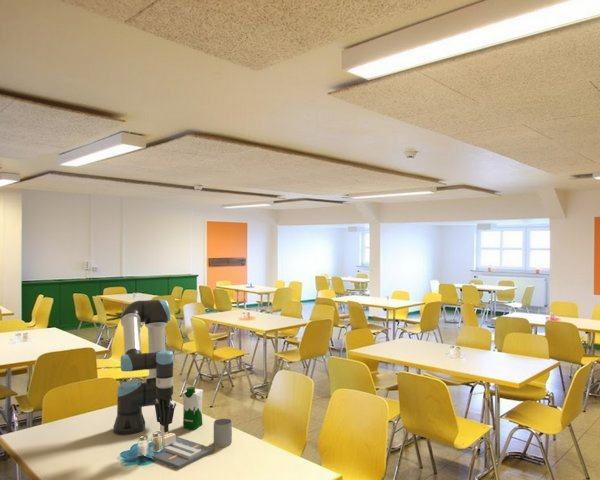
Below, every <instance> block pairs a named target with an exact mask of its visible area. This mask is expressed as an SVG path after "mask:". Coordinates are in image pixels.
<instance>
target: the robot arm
mask: <svg viewBox="0 0 600 480" xmlns="http://www.w3.org/2000/svg"><path fill="white" fill-rule="evenodd" d="M170 321H171V310H170V306H169V303H168V301H167V300H166V299H149V300H146V299H145V300H135V301H133V302H131V303H129V304H128V305H127V306H126V307H125V308H124V310H123V312H121V315H120V324H121V326H122V328H123V329H122V330H123V345H124V346H123V348H124V354H122V355H121V356H120V370H121V372H135V371H145V370H146V371H147V370H148V375H147V377H146V378H145V382H143V380H141V379H132V380H127V381H124V382H122V383H121V384H119V385H118V386H117V392H116V393H117V394H116V397H117V401H116V402H117V403H116V405H117V407H116V409H117V410H116V418H115V421H114V424H113V428H112V432H113V433H114V434H117V435H123V436H125V435H133V434H138V433H139V432H142V431H144V430H145V429H146V420H145V418H144V415H143V407H149V406H150V407H151V406H154V409H155V410H154V411H155V417H156V422H157V423H159V427H160V429H159V430H160V437H161V436H165V435H167V434H169V429H170V428H169V427H170V426H169V425H170V424H172V423H173V421H174V420H173V419H174V413H175V409H176V406H177V403H176V402H173V394H174V359H175V358H174V352H173V351H171V350H166V327H167V325H168V323H169V322H170ZM141 323H144V326H145V328H147V339H148V340H147V341H148V342H147V343H148V344H147V345H148V352H145V353H142V346H141V345H142V344H141V333H140V324H141Z"/></svg>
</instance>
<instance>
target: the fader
mask: <svg viewBox="0 0 600 480" xmlns="http://www.w3.org/2000/svg"><path fill="white" fill-rule="evenodd" d="M176 437H177V436H176V433H174V432H168V434H167V435H165V436H162V437H161V436H160V439H161V438H162V444H163V446H171V444H172V443H174V442H176Z"/></svg>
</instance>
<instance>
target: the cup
mask: <svg viewBox="0 0 600 480" xmlns="http://www.w3.org/2000/svg"><path fill="white" fill-rule="evenodd" d="M232 440H233V420H232V419H230V418H218V419H215V420H214V421H213V446H214V447H217V448H226V446H227V447H229V446H231V445H232V444H233V441H232ZM231 443H232V444H231Z"/></svg>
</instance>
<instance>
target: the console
mask: <svg viewBox="0 0 600 480" xmlns="http://www.w3.org/2000/svg"><path fill="white" fill-rule="evenodd" d="M163 448H164V449H165V450H166V451H165V452H163V453H159V454H158V453H157V454H154V455H153V456H152V457H153V459H154V460H153V461H155V462H157V463H161V464H163V465H166V466H168V467H171V468H174V469H177V470H181V469H184V468H185V467H186V466H189V465H190V464H193V463H194V462H197V461H199V460H200V459H203V458H205V457H206V456H209V455H210V454H212V453H214V452H215V451H214V450H215V449H214V448H213V447H210V446H208V445H204V444H201V443H199V442H195V441H192V440H188V439H185V438H182V437H179V436H176V442H174V443H172V444H171V446H164V447H163Z"/></svg>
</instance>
